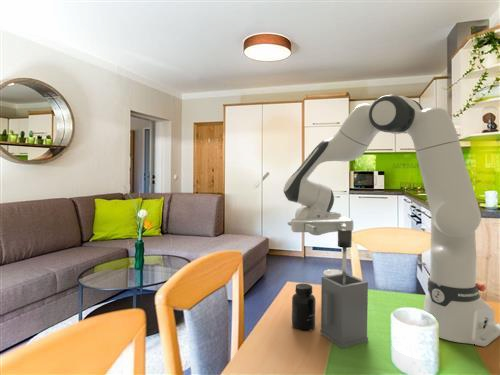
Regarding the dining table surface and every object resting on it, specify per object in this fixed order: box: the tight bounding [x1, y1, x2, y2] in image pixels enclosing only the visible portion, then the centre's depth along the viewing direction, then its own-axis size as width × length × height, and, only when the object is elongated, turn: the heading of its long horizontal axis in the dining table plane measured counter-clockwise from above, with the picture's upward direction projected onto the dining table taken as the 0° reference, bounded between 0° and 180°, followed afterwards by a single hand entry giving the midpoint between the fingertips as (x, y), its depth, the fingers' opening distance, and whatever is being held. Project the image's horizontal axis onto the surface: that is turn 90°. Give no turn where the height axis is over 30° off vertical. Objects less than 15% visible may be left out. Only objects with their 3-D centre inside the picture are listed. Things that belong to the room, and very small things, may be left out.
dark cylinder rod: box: [337, 229, 353, 285], centre depth 89 cm, size 6×6×17 cm
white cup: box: [323, 268, 342, 277], centre depth 115 cm, size 8×8×10 cm
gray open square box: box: [319, 272, 369, 350], centre depth 89 cm, size 11×9×16 cm
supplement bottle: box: [291, 283, 316, 332], centre depth 96 cm, size 7×7×12 cm
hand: (329, 229), depth 101 cm, fingers open, 8 cm apart
